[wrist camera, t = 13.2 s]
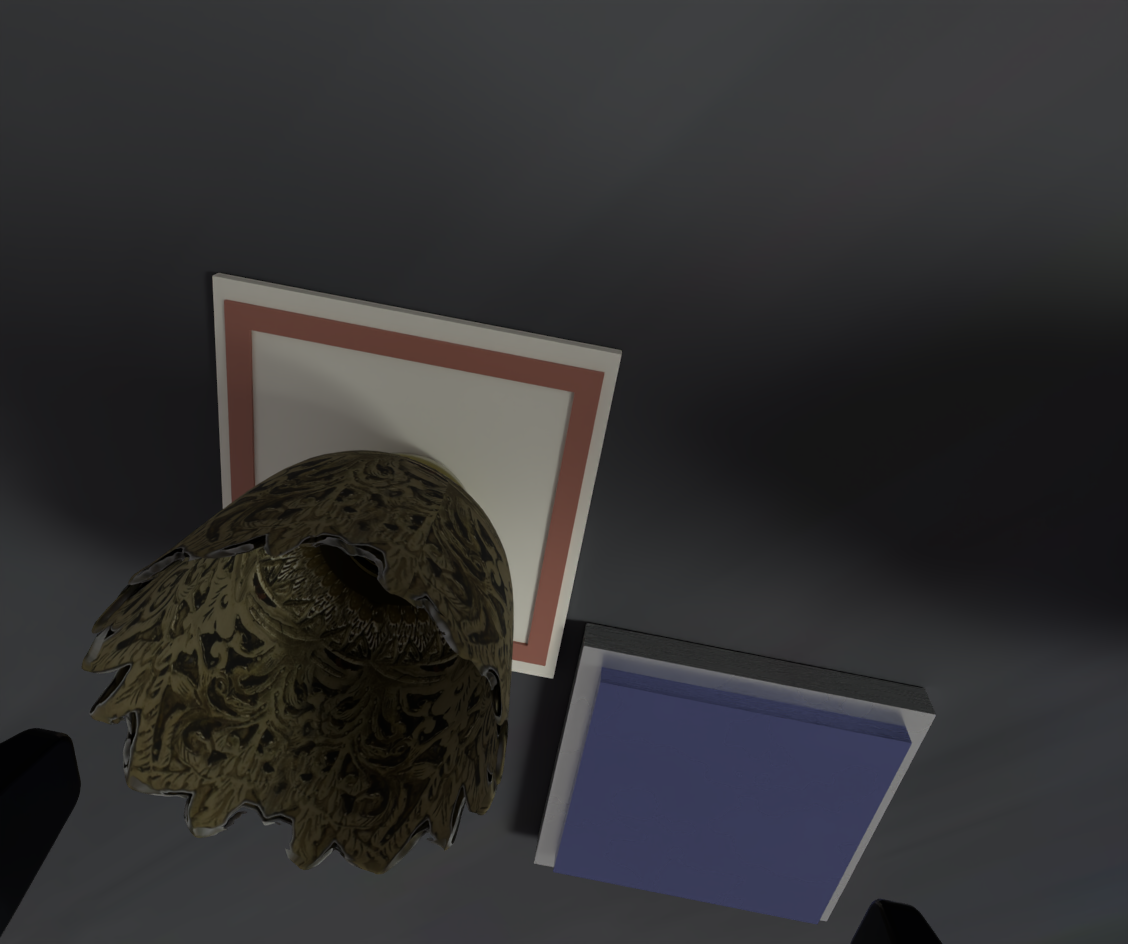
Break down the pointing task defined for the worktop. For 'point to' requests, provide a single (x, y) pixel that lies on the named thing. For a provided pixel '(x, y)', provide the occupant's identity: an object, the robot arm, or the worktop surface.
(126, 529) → the worktop surface
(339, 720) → the ornate bronze cup
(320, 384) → the marked card
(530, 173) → the worktop surface
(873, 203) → the worktop surface
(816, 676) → the ink pad
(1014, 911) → the worktop surface
